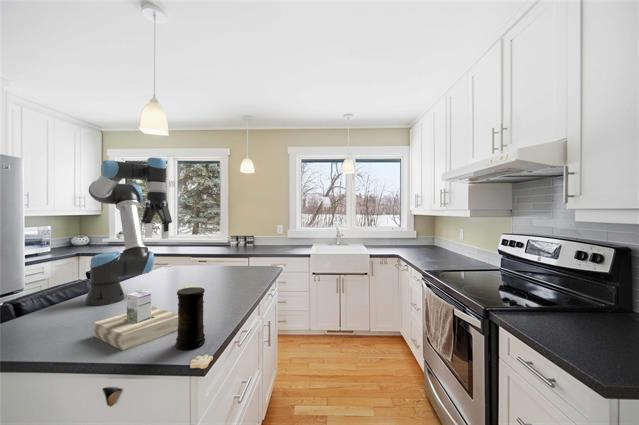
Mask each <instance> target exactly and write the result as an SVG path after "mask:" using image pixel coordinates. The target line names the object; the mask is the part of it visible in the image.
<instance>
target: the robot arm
mask: <svg viewBox="0 0 639 425" xmlns="http://www.w3.org/2000/svg"><path fill="white" fill-rule="evenodd" d="M166 162H167V160H165V159H164V158H161V157H148V158H147V160H146V163H145V164H144V163H137V162H136V163H135V162H125V161H119V160H111V159H110V160H109V159H108V160H102V162H101V165H100V173H101V175H99V177H98V179H97V180H93V181H92V182H91V183H90V185H89V186H88V194H89V195H90V197H91V198H92V199H93V200H95V201H97V202H99V203H101V204H107V205H108V204H109V205H115V206H114V207H115V209H117V210H119V215H120V222H121V229H122V235H123V243H124V249H123V250H122V253H121V252H120V251H110V252H103V253H98V254H95V255H94V256H92V257H91V259H90V263H89V264H90V266H89V268H90V286H89V290H88V292H87V294H86V298H85V304H86V306H87V305H88V306H104V305H110V304H114V303H119V302H120V301H123V300H124V299H125V293H124V290H123V288H122V285H121V278H126V277H133V276H142V275H145V274H149V273H150V272H152V269H153V268H154V261H155V254H154V252H153V251H151V250H150V251H149V248H148V246H146V245H145V244H144V238H152V236H153V234H152V233H153V231H152V230H153V229H152V228H153V222H152V221H153V218H154V217H155V214H156V213H157V214H158V216H159V218H160V220H161V240H166V239H169V231H170V230H169V225H170V224H172V223H173V220H172V216H171V213H170V210H169V203H168V202H167V201H166V199H167V193H166V192H167V181H166V180H167V163H166ZM123 179H124V180H137V181H138V180H139V181H143V182H144V181H145V182H146V186H147V189H146V190H147V191H148V192H146V200H147V201H149V202H145V208H144V212H143V216H142V220H140V214H139V207H140V206H141V205H142V203H143V200H144V197H143V196H144V195H143V190H142V188H141V187H140V185H137V184H131V183H120V182H121V181H122V180H123ZM141 222H142V223H144V238H143V233H142V232H143V231H142V227H141Z"/></svg>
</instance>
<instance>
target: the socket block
mask: <svg viewBox="0 0 639 425" xmlns="http://www.w3.org/2000/svg"><path fill="white" fill-rule="evenodd" d="M93 326H94V332H93V334H94V336H93V337H95V338H97V339H99V340H101V341H103V342H105V343H106V344H109V345H110V346H113V347H115V348H117V349H119V350H121V351H126V350H129V349H131V348H134V347H137V346H139V345H142V344H144V343H148V342H150V341H152V340H153V341H154V340H156V339H158V338H161V337H163V336H166V335H169V334H173V333H174V332H178V331H177V329H178V313H175V312H172V311H168V310H165V309H161V308H158V307H156V306H151V319H149V320H146V321H143V322H140V323H136V324H132V323H129V322H127V313H126V312H125V313H122V314H119V315H115V316H112V317H108V318H105V319H104V318H103V319H101V320H100V319H99V320H96V321H94V324H93Z"/></svg>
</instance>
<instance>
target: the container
mask: <svg viewBox="0 0 639 425" xmlns="http://www.w3.org/2000/svg"><path fill="white" fill-rule="evenodd" d="M205 291H206V290H205V288H203V287H201V288H200V287H190V288H184V289H180V290H178V289H177V292H176V296H177V301H179V303H177V314H178V329H177V331H176V332H177V337H176V338H175V339H176V340H175V341H176V343H175V347H176V349H177V350H180V351H191V350H196V349H199V348H200V347H202V346H204V344H205V342H206V338H205V337H206V336H205V335H206V334H205V332H204V331H205V330H204V329H205V326H204V303H205V301H204V296H205Z"/></svg>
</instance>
